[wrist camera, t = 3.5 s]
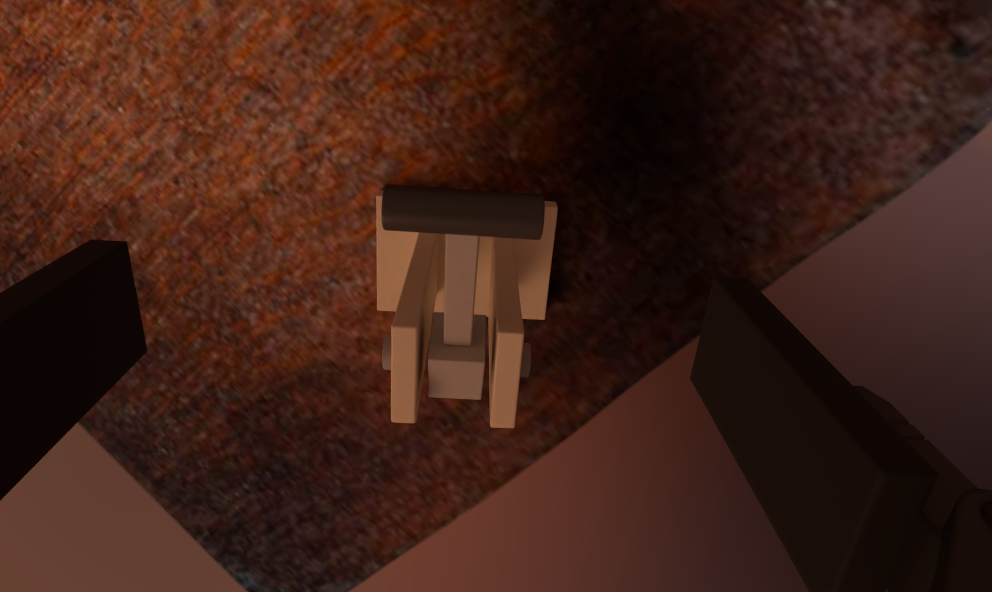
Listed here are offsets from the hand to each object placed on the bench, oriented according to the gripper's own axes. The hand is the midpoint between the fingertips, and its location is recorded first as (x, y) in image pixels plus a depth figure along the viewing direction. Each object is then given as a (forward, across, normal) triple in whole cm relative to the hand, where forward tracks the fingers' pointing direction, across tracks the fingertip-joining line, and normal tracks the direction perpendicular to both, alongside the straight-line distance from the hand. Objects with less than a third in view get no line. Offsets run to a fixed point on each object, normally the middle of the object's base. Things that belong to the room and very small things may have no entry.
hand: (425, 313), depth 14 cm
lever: (+9, +1, -3) cm, 10 cm away
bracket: (+22, +1, -7) cm, 23 cm away
